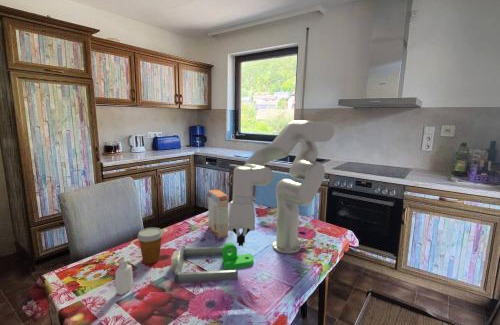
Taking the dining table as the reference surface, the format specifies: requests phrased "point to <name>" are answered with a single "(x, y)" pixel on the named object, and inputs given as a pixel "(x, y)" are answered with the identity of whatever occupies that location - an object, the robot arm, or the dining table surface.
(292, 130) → the robot arm
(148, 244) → the disposable coffee cup
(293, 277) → the dining table surface
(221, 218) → the cracker box
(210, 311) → the dining table surface
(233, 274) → the drawer frame
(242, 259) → the mechanical part
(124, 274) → the eye dropper bottle
